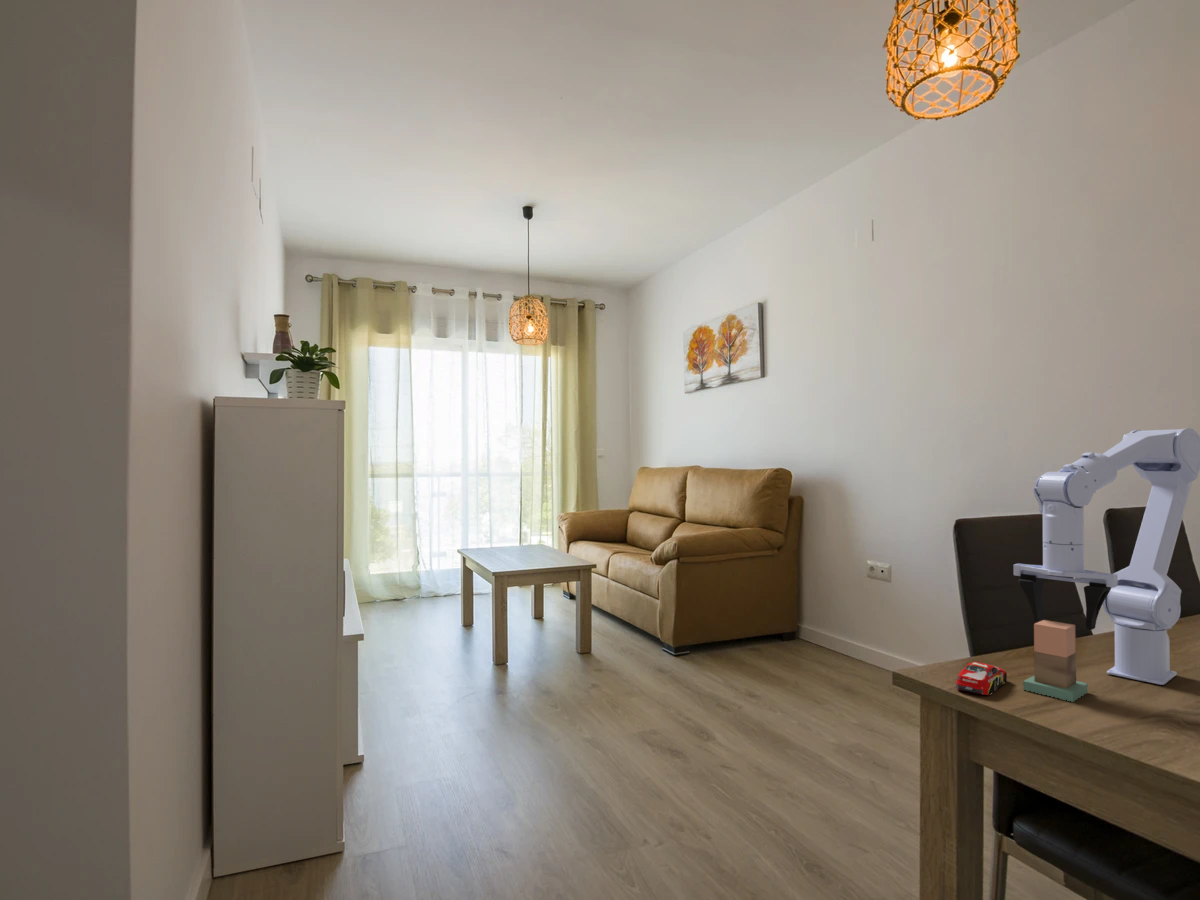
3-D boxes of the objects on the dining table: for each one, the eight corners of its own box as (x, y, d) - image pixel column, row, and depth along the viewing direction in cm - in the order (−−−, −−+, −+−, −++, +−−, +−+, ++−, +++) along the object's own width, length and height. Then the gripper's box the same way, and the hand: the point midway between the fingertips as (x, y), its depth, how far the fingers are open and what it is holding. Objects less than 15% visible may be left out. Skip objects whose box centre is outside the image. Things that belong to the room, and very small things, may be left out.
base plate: (1039, 681, 116) (1039, 672, 116) (1087, 692, 111) (1087, 683, 111) (1023, 690, 112) (1023, 681, 112) (1073, 702, 106) (1072, 692, 106)
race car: (976, 675, 121) (976, 652, 121) (1011, 682, 117) (1011, 659, 117) (950, 692, 112) (950, 667, 112) (986, 700, 108) (986, 675, 108)
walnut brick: (1045, 676, 115) (1044, 646, 115) (1076, 683, 111) (1076, 652, 111) (1034, 681, 112) (1034, 650, 112) (1066, 688, 108) (1065, 657, 108)
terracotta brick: (1044, 646, 114) (1043, 619, 115) (1075, 652, 111) (1075, 624, 111) (1034, 651, 112) (1034, 623, 112) (1066, 657, 108) (1065, 629, 108)
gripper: (1006, 540, 117) (1006, 619, 117) (1107, 549, 106) (1108, 636, 106) (1022, 537, 122) (1022, 613, 122) (1121, 545, 110) (1121, 629, 110)
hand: (1063, 624), depth 114 cm, fingers open, 7 cm apart
